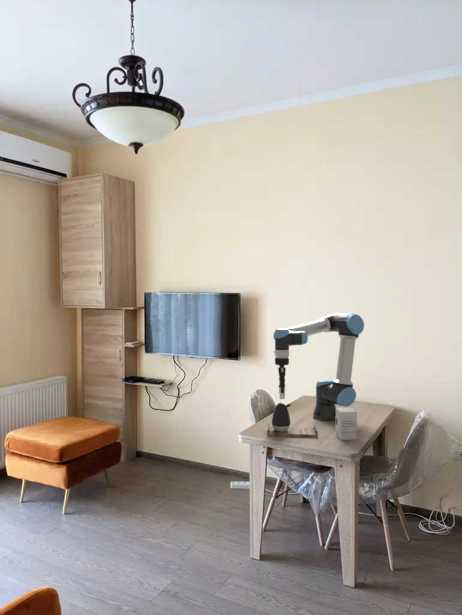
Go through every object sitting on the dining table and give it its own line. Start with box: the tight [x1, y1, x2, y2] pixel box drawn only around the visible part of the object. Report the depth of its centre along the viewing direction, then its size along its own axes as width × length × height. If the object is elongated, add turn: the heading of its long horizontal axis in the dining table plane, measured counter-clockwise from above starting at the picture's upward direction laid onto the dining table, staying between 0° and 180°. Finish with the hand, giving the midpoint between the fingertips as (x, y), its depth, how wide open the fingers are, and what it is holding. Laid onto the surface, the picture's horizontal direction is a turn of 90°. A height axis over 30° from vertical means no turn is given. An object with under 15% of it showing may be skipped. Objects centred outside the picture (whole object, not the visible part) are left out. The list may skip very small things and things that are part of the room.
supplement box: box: [335, 407, 358, 441], centre depth 254 cm, size 9×9×15 cm
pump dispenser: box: [271, 402, 291, 432], centre depth 261 cm, size 10×10×15 cm
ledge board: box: [267, 422, 319, 439], centre depth 260 cm, size 26×12×4 cm, turn 86°
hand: (281, 396), depth 260 cm, fingers open, 13 cm apart
